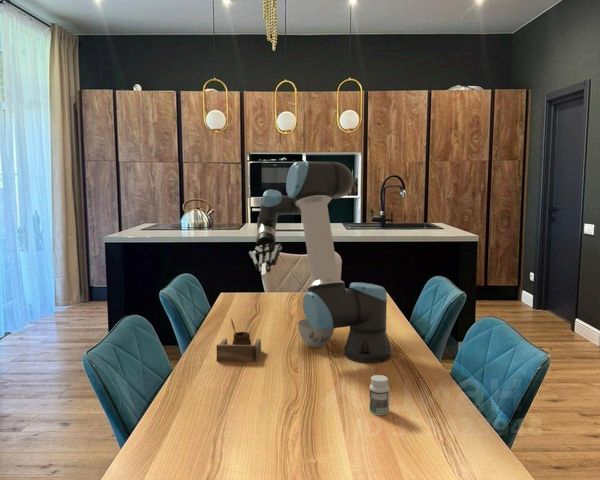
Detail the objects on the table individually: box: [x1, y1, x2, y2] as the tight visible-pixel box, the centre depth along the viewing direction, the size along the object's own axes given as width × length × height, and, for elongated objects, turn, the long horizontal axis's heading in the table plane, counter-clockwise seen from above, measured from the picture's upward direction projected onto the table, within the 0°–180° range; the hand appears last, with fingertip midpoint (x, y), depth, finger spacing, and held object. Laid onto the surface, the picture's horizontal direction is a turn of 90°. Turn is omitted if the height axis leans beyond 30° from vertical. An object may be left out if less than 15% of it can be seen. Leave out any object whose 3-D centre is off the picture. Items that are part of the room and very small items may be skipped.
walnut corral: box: [216, 338, 262, 363], centre depth 163 cm, size 11×12×5 cm
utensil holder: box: [230, 318, 252, 345], centre depth 164 cm, size 6×6×12 cm
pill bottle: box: [369, 374, 390, 416], centre depth 123 cm, size 5×5×8 cm
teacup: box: [297, 318, 335, 349], centre depth 175 cm, size 15×12×8 cm
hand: (264, 277), depth 179 cm, fingers closed
